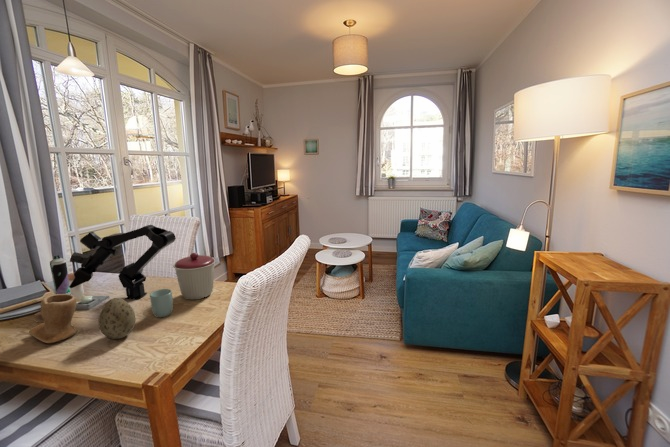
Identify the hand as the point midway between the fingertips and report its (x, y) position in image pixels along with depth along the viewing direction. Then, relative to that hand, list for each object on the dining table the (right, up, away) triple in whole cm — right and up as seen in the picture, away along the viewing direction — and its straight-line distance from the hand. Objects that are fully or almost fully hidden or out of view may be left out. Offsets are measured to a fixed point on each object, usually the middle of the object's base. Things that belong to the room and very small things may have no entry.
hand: (73, 283), depth 136 cm
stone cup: (+15, -14, -24) cm, 32 cm away
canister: (+52, -7, +9) cm, 53 cm away
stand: (+2, -11, -12) cm, 17 cm away
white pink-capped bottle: (+1, -7, +2) cm, 8 cm away
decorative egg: (+39, -15, -25) cm, 48 cm away
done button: (+8, -7, -3) cm, 11 cm away
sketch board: (+4, -9, 0) cm, 9 cm away
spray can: (-10, -7, +7) cm, 15 cm away
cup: (+46, -11, -9) cm, 48 cm away
